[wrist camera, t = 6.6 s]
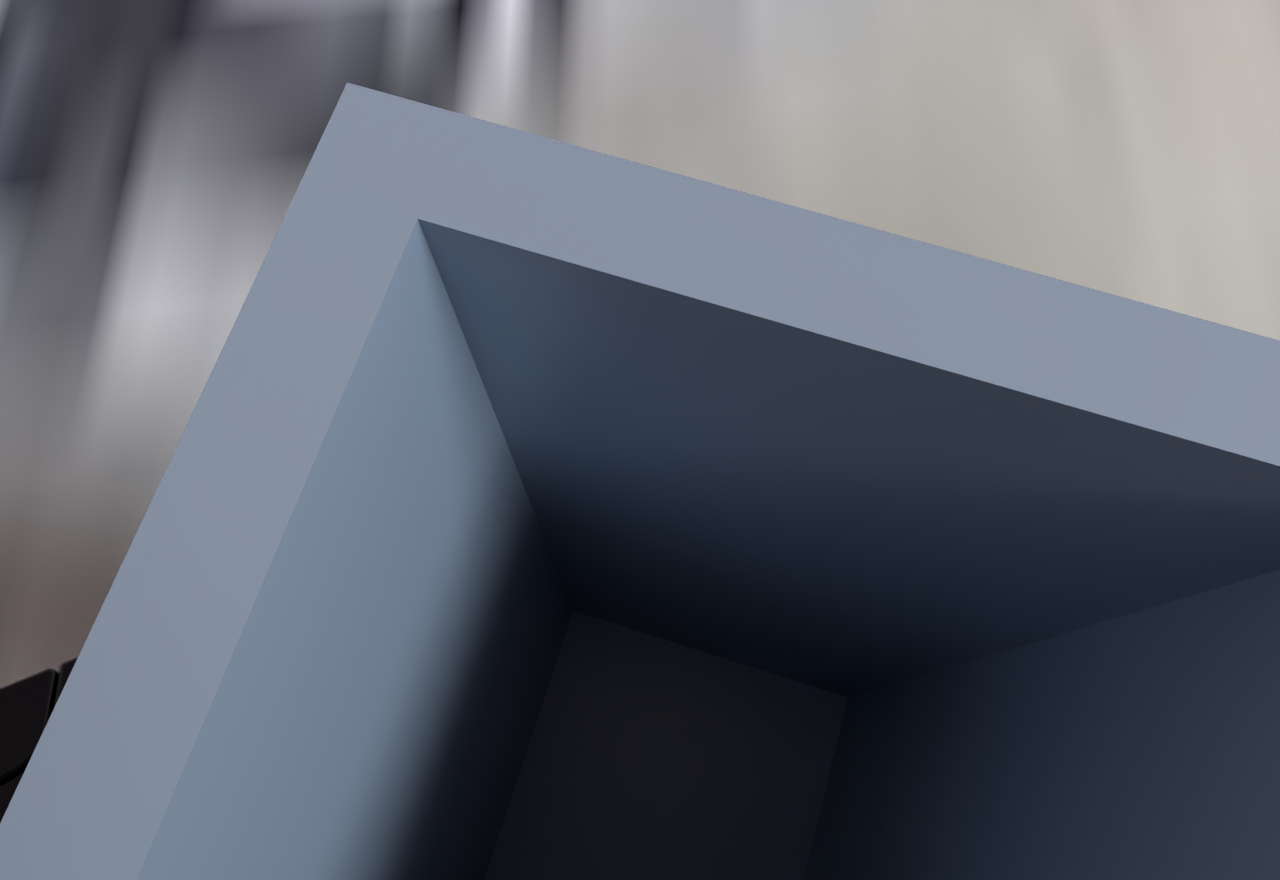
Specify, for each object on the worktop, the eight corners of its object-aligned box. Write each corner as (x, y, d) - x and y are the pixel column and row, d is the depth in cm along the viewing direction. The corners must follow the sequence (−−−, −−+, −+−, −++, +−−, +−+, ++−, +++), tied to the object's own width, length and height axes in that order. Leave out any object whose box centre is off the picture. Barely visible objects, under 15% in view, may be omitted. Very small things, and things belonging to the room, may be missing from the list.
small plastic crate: (788, 1042, 14) (1541, 2399, 2) (440, 920, 14) (-355, 1574, 3) (875, 678, 15) (1605, 429, 4) (556, 578, 16) (347, 84, 4)
